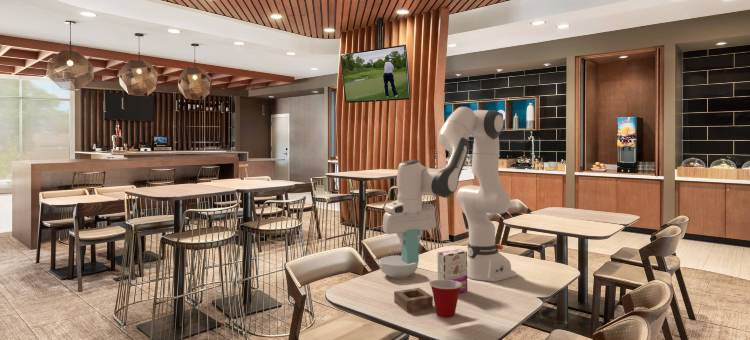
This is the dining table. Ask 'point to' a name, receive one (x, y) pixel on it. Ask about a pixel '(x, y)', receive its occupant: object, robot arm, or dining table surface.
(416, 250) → the teal peg
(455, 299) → the plastic cup
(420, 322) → the dining table surface
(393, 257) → the cereal bowl
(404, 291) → the pocket block
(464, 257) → the candy bar box
